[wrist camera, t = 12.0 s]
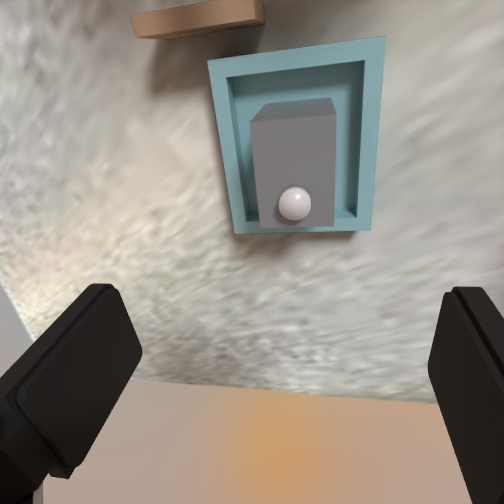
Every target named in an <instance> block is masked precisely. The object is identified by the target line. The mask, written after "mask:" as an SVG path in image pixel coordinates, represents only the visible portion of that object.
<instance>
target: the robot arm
mask: <svg viewBox="0 0 504 504" xmlns="http://www.w3.org/2000/svg"><path fill="white" fill-rule="evenodd" d="M141 357H142V347H141V344H140V342H139V339H138V337H137V334H136V332H135V330H134V327H133V325H132V322H131V320H130V317H129V315H128V312H127V310H126V307H125V305H124V303H123V300H122V298H121V295H120V293H119V291H118V290H117V289H115V288H114V286H113V285H112V284H95V283H94V284H91V285H89V286H88V287H87V288H86V289H85V290H84V291H83V292H82V293H81V294H80V295H79V296H78V297H77V299H76V300H75V301H74V302H73V303H72V304H71V305H70V306H69V307H68V308H67V309H66V310H65V311H64V312H63V313H62V314H61V315H60V316H59V317H58V318H57V319H56V320H55V321H54V322H53V323H52V325H51V326H50V327H49V328H48V329H47V330H46V331H45V332H44V333H43V334H42V335H41V336H40V337H39V338H38V339H37V340H36V341H35V342H34V343H33V344H32V345H31V346H30V348H28V350H27V351H26V352H25V353H24V354H23V355H22V356H21V357H20V358H19V359H18V360H17V361H16V362H15V363H14V364H13V365H12V366H11V367H10V368H9V369H8V370H7V371H6V372H5V374H4V375H3V376H2V377H1V378H0V504H43V480H44V479H45V477H46V476H47V474H48V473H49V474H50V475H51V477H58V478H65V479H69V478H70V476H71V474H72V472H73V471H74V469H75V467H77V466H79V465H80V464H81V463H82V462H83V460H84V458H85V457H86V455H87V453H88V452H89V450H90V448H91V446H92V445H93V443H94V441H95V439H96V437H97V436H98V434H99V432H100V430H101V429H102V427H103V425H104V423H105V422H106V420H107V418H108V416H109V415H110V413H111V410H112V409H113V407H114V406H115V404H116V402H117V400H118V399H119V397H120V395H121V393H122V392H123V390H124V388H125V386H126V385H127V383H128V381H129V379H130V378H131V376H132V374H133V372H134V370H135V369H136V367H137V365H138V363H139V362H140V360H141ZM428 374H429V378H430V381H431V384H432V387H433V389H434V392H435V395H436V398H437V401H438V404H439V407H440V410H441V413H442V416H443V419H444V422H445V425H446V427H447V431H448V434H449V436H450V439H451V442H452V445H453V448H454V451H455V454H456V457H457V460H458V463H459V466H460V469H461V472H462V474H463V477H464V480H465V483H466V486H467V489H468V492H469V495H470V498H471V501H472V504H504V318H503V317H502V315H501V314H500V312H499V311H498V310H497V308H496V307H495V305H494V304H493V302H492V301H491V299H490V298H489V296H488V295H487V294H486V292H485V291H484V290H483V288H481V287H454V288H453V289H452V291H451V292H446V293H445V294H444V296H443V300H442V305H441V309H440V313H439V318H438V322H437V326H436V330H435V335H434V339H433V343H432V348H431V352H430V356H429V361H428Z"/></svg>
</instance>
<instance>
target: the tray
mask: <svg viewBox="0 0 504 504" xmlns="http://www.w3.org/2000/svg"><path fill="white" fill-rule="evenodd" d="M385 41H386V36H381V37H374V38H367V39H359V40H352V41H345V42H337V43H330V44H323V45H316V46H308V47H301V48H294V49H286V50H279V51H272V52H265V53H257V54H250V55H243V56H235V57H228V58H221V59H213V60H207V63H208V69H209V76H210V82H211V88H212V94H213V101H214V107H215V113H216V119H217V125H218V132H219V138H220V144H221V150H222V157H223V163H224V169H225V175H226V181H227V188H228V194H229V200H230V206H231V213H232V219H233V225H234V231H235V234H247V233H285V232H323V231H361V230H371V221H372V208H373V195H374V182H375V169H376V157H377V144H378V131H379V118H380V105H381V92H382V79H383V66H384V54H385ZM326 97H331V99H332V102H333V105H334V108H335V111H336V114H337V122H336V168H335V214H334V226H331V227H287V228H260V219H259V210H258V200H257V191H256V182H255V172H254V163H253V154H252V144H251V135H250V126H249V122H250V121H251V120H252V119H253V117H254V116H255V115H256V114H257V113H258V112H259V111H260V110H261V109H262V107H263V106H264V105H265V104H266V103H275V102H285V101H295V100H306V99H316V98H326Z"/></svg>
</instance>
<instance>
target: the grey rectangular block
mask: <svg viewBox="0 0 504 504" xmlns="http://www.w3.org/2000/svg"><path fill="white" fill-rule="evenodd" d="M336 122H337V114H336V111H335V108H334V105H333V102H332V99H331V97H326V98H316V99H306V100H295V101H285V102H275V103H266V104H265V105H264V106H263V107H262V109H261V110H260V111H259V112H258V113H257V114H256V115H255V116H254V117H253V119H252V120H251V121H250V122H249V126H250V135H251V144H252V154H253V163H254V172H255V182H256V191H257V200H258V210H259V219H260V228H287V227H331V226H334V214H335V168H336Z"/></svg>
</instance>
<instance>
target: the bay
mask: <svg viewBox="0 0 504 504" xmlns="http://www.w3.org/2000/svg"><path fill="white" fill-rule="evenodd" d="M130 18H131V22H132V26H133V30H134V34H135V38H148V39H164V40H165V39H172V38H178V37H185V36H191V35H198V34H204V33H210V32H217V31H223V30H230V29H236V28H243V27H249V26H256V25H262V24H265V11H264V3H262V2H261V1H260V0H215V1H210V2H204V3H198V4H192V5H187V6H181V7H175V8H169V9H164V10H158V11H152V12H146V13H141V14H135V15H130Z"/></svg>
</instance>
